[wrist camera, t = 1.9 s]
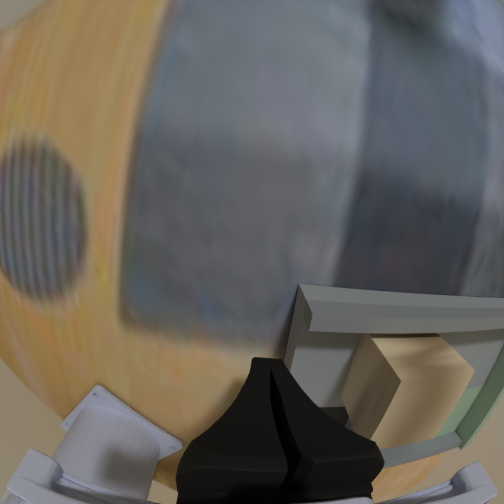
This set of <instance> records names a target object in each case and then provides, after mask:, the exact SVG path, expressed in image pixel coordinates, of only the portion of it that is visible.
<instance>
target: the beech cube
mask: <svg viewBox="0 0 504 504" xmlns="http://www.w3.org/2000/svg"><path fill="white" fill-rule="evenodd" d="M474 371H475V370H474V369H473V368H472V367H471V366H470V365H469V364H468V363H467V362H466V361H465V360H464V359H463V358H462V357H461V356H460V355H459V354H458V353H457V352H456V351H455V350H454V349H453V348H452V347H451V346H450V345H449V344H448V343H447V342H446V341H445V340H444V339H443V338H442V337H440V336H439V335H438V334H437V333H405V334H383V333H361V336H360V340H359V343H358V346H357V349H356V352H355V355H354V358H353V361H352V364H351V366H350V369H349V372H348V375H347V378H346V380H345V383H344V386H343V388H342V391H341V393H340V395H341V398H342V400H343V403H344V405H345V408H346V411H347V413H348V416H349V418H350V421H351V424H352V426H353V429H354V432H355V433H357V434H359V435H361V436H363V437H365V438H368V439H370V440H372V441H375V442H376V444H377V446H378V447H379V449H380V450H381V449H387V448H392V447H397V446H402V445H407V444H411V443H415V442H419V441H423V440H427V439H431V438H435V436H436V435H437V433H438V432H439V430H440V429H441V428H442V426H443V425H444V423H445V422H446V420H447V419H448V417H449V415H450V414H451V412H452V411H453V409H454V407H455V406H456V404H457V402H458V401H459V399H460V397H461V396H462V394H463V392H464V390H465V388H466V387H467V385H468V383H469V381H470V379H471V377H472V375H473V373H474Z"/></svg>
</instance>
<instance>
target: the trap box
mask: <svg viewBox="0 0 504 504" xmlns="http://www.w3.org/2000/svg"><path fill="white" fill-rule="evenodd" d="M361 333H383V334H405V333H437V334H438V335H439V336H440V337H442V338H443V339H444V340H445V341H446V342H447V343H448V344H449V345H450V346H451V347H452V348H453V349H454V350H455V351H456V352H457V353H458V354H459V355H460V356H461V357H462V358H463V359H464V360H465V361H466V362H467V363H468V364H469V365H470V366H471V367H472V368H473V369H474V370H475V371H474V373H473V375H472V377H471V379H470V381H469V383H468V385H467V387H466V388H465V390H464V392H463V394H462V396H461V397H460V399H459V401H458V402H457V404H456V406H455V407H454V409H453V411H452V412H451V414H450V415H449V417H448V419H447V420H446V422H445V423H444V425H443V426H442V428H441V429H440V430H439V432H438V433H437V435H436V436H435V438H431V439H427V440H423V441H419V442H415V443H411V444H407V445H402V446H397V447H392V448H387V449H381V450H380V451H381V454H382V456H383V459H384V461H385V463H384V467H383V468H387V467H392V466H396V465H401V464H405V463H409V462H412V461H416V460H420V459H423V458H427V457H430V456H433V455H436V454H439V453H442V452H445V451H448V450H451V449H453V448H456V447H459V448H460V450H462V449H465V448H466V447H467V446H468V445H469V444H470V443H471V441H472V440H473V439H474V437H475V436H476V435H477V433H478V432H479V431H480V429H481V428H482V426H483V425H484V424H485V422H486V421H487V419H488V418H489V416H490V415H491V413H492V412H493V410H494V409H495V407H496V405H497V404H498V402H499V400H500V399H501V397H502V396H503V394H504V298H486V297H465V296H446V295H430V294H414V293H400V292H386V291H373V290H361V289H349V288H337V287H326V286H315V285H305V284H299V287H298V292H297V298H296V303H295V308H294V313H293V318H292V324H291V329H290V333H289V338H288V343H287V348H286V352H285V357H284V363H285V365H286V367H287V368H288V370H289V371H290V373H291V374H292V376H293V377H294V379H295V380H296V382H297V383H298V384H299V386H300V387H301V388H302V389H303V391H304V392H305V393H306V394H307V395H308V396H309V398H310V399H311V400H312V401H313V402H314V403H315V404H316V405H317V406H318V407H319V408H320V409H322V410H323V411H324V412H325V413H326V414H327V415H329V416H330V417H331V418H333V419H334V420H335V421H337V422H338V423H340V424H341V425H343V426H344V427H346V428H348V429H349V430H351V431H353V432H354V429H353V426H352V424H351V421H350V418H349V416H348V413H347V411H346V408H345V405H344V403H343V400H342V398H341V395H340V393H341V391H342V388H343V386H344V383H345V380H346V378H347V375H348V372H349V369H350V366H351V364H352V361H353V358H354V355H355V352H356V349H357V346H358V343H359V340H360V336H361ZM383 468H382V469H383Z"/></svg>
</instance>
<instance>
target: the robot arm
mask: <svg viewBox="0 0 504 504" xmlns="http://www.w3.org/2000/svg"><path fill="white" fill-rule="evenodd" d="M61 428H62V429H63V430H65V431H66V432H67V433H66V435H65V436H64V438H63V440H62V441H61V443H60V445H59V447H58V448H57V450H56V452H55V453H54V455H53V457H52V458H51V457H49V456H47V455H45V454H43V453H41V452H39V451H37V450H36V449H34V448H30V449H29V450H28V452H27V453H26V455H25V456H24V458H23V460H22V461H21V463H20V464H19V466H18V468H17V469H16V471H15V472H14V474H13V476H12V478H11V479H10V481H9V482H8V484H7V486H6V487H7V489H8V491H7V492H6V493H5V495H4V496H3V498H2V499H1V501H0V504H159V503H154V502H150V501H147V498H148V494H149V490H150V487H151V483H152V480H153V476H154V472H155V469H156V465H157V462H158V461H159V460H161V459H163V458H165V457H167V456H169V455H171V454H173V453H175V452H177V451H179V450H181V449H182V448H183V442H181V441H180V440H178V439H177V438H175V437H173V436H172V435H170V434H168V433H167V432H165V431H164V430H162V429H160V428H159V427H157V426H156V425H154V424H153V423H151V422H150V421H148V420H147V419H145V418H144V417H142V416H141V415H140V414H138V413H137V412H135V411H134V410H133V409H131V408H130V407H128V406H127V405H126V404H124V403H123V402H122V401H120V400H119V399H118V398H116V397H115V396H114V395H113V394H111V393H110V392H109V391H108V390H106V389H105V388H104V387H102V386H101V385H95V386H94V387H93V389H92V390H91V391H90V392H89V393H88V394H87V395H86V396H85V397H84V398H83V400H82V401H81V402H80V403H79V404H78V405H77V406H76V407H75V408H74V410H73V411H72V412H71V413H70V414H69V415H68V416H67V417H66V418H65V420H64V421H63V422H62V423H61ZM384 463H385V461H384V459H383V456H382V454H381V451H380V449H379V447H378V446H377V444H376V442H375V441H372V440H370V439H368V438H365V437H363V436H361V435H359V434H357V433H355V432H353V431H351V430H349V429H348V428H346V427H344V426H343V425H341V424H340V423H338V422H337V421H335V420H334V419H333V418H331V417H330V416H329V415H327V414H326V413H325V412H324V411H323V410H322V409H320V408H319V407H318V406H317V405H316V404H315V403H314V402H313V401H312V400H311V399H310V398H309V396H308V395H307V394H306V393H305V392H304V391H303V389H302V388H301V387H300V386H299V384H298V383H297V382H296V380H295V379H294V377H293V376H292V374H291V373H290V371H289V370H288V368H287V367H286V365H285V363H284V362H283V360H282V359H272V358H259V357H254V358H253V359H252V362H251V368H250V372H249V375H248V377H247V379H246V382H245V384H244V386H243V387H242V389H241V391H240V393H239V394H238V396H237V397H236V399H235V400H234V402H233V403H232V405H231V406H230V407H229V408H228V410H227V411H226V412H225V413H224V414H223V415H222V416H221V418H220V419H219V420H218V421H216V422H215V423H214V424H213V425H212V426H211V427H210V428H209V429H208V430H206V431H205V432H204V433H202V434H201V435H200V436H198V437H197V438H195V439H194V440H193V441H191V443H190V444H189V446H188V447H187V449H186V451H185V452H184V454H183V456H182V458H181V460H180V462H179V465H178V468H177V474H176V484H177V490H178V498H177V503H176V504H374V503H373V500H372V496H371V493H372V491H373V487H372V484H371V483H372V481H373V480H374V479H375V478H376V477H377V475H378V474H379V473H380V472H381V470H382V468H383V467H384ZM497 493H498V492H497V490H496V488H495V487H494V485H493V484H492V482H491V480H490V479H489V477H488V475H487V474H486V472H485V471H484V469H483V467H482V466H481V464H480V463H479V461H476V462H474V463H472V464H470V465H468V466H465V467H464V468H462V469H460V470H459V471H458V472H457V473H456V474H455V475H454V476H453V477H452V479H450V480H448V481H445V482H443V483H440V484H437V485H435V486H432V487H429V488H427V489H424V490H421V491H418V492H415V493H412V494H409V495H405V496H402V497H398V498H395V499H392V500H387V501H383V502H379V503H375V504H487V503H488V502H489V501H490V500H491V499H492V498H494V497H495V496H496V495H497Z"/></svg>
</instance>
